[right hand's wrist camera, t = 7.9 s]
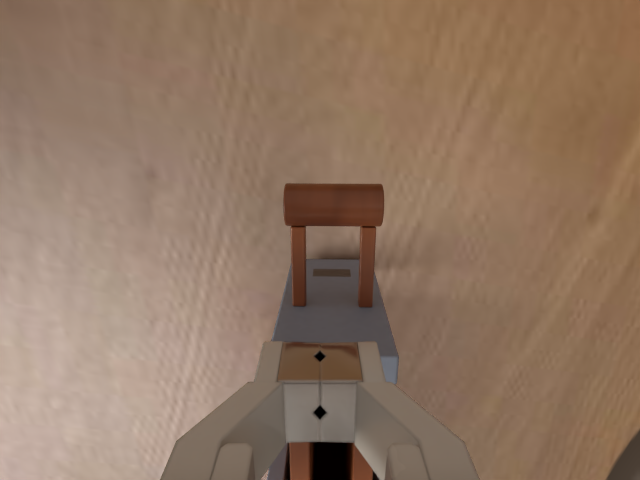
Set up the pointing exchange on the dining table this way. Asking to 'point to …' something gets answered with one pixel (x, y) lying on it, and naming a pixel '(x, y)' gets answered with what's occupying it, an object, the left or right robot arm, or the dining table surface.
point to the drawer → (334, 304)
